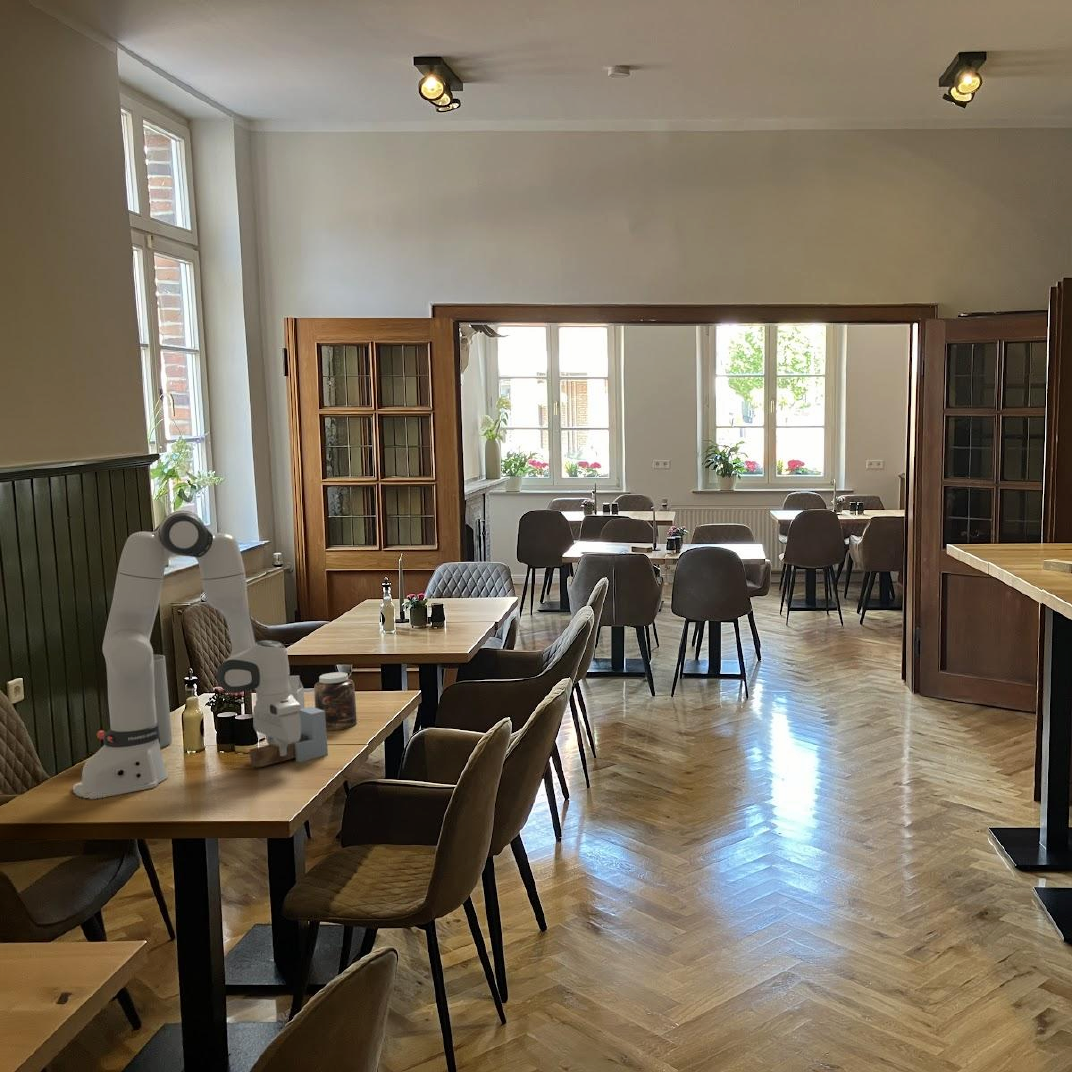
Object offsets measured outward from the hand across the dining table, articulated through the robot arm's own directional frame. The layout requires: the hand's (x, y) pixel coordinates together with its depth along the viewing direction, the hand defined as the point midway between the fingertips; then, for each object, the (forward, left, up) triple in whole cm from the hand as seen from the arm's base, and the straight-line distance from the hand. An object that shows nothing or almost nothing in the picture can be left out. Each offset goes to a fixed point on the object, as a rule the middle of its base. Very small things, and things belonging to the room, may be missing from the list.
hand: (277, 753), depth 281 cm
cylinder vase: (-17, +45, -3) cm, 48 cm away
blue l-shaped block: (+9, 0, -3) cm, 9 cm away
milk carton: (+12, +15, -3) cm, 19 cm away
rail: (0, 0, -2) cm, 2 cm away
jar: (+30, +21, -3) cm, 36 cm away
